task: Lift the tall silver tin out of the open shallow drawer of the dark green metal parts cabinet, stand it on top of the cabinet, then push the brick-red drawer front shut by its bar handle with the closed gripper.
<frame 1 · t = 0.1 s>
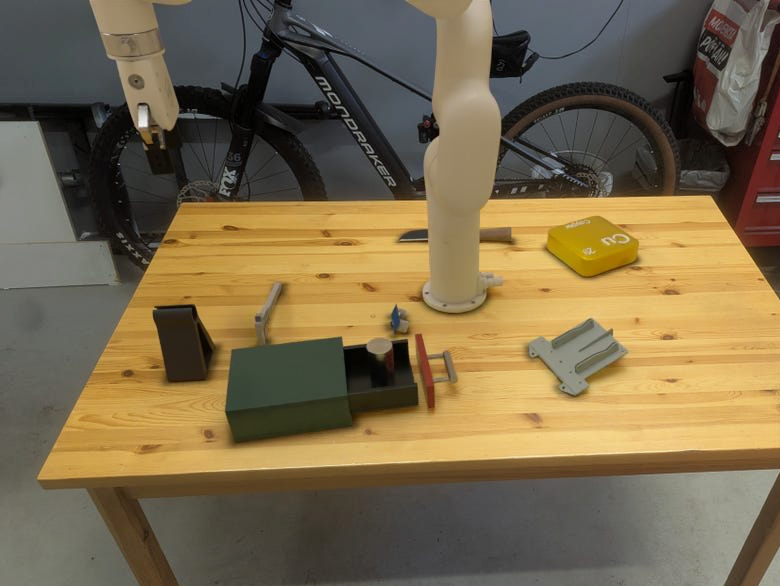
hand: (168, 160, 103), 31 cm above the table, tool pointing down, fingers open, 9 cm apart
cabinet: (294, 402, 107), on the table
tin: (383, 381, 108), point 2 cm above the table, touching drawer
metal bracket: (580, 361, 116), on the table
ultrasonic sensor: (398, 327, 123), on the table
element tile: (590, 254, 144), on the table
grey bent bar: (272, 315, 125), on the table
drawer: (391, 374, 108), point 3 cm above the table, slide at 12.0 cm, touching tin
phone stand: (192, 364, 114), on the table
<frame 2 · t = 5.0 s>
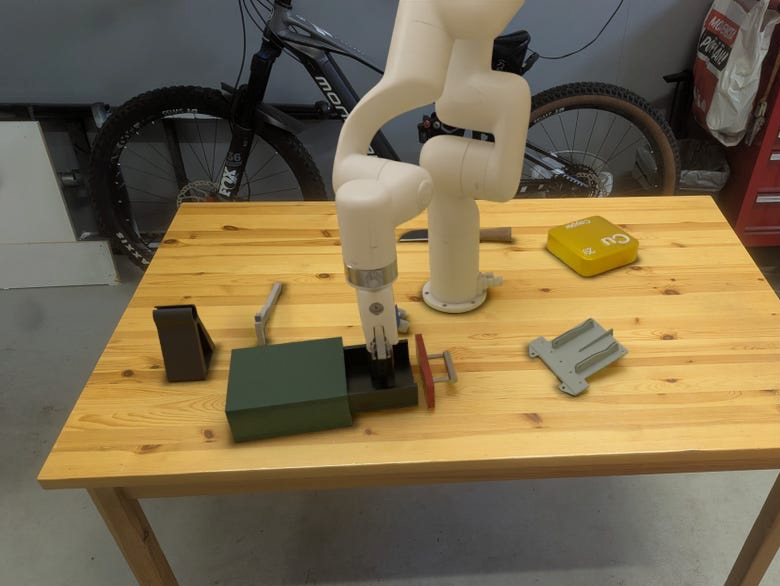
hand: (381, 364, 106), 6 cm above the table, tool pointing down, fingers closed on tin, 4 cm apart
tin: (383, 381, 108), point 2 cm above the table, touching drawer, gripper
everything else where it was.
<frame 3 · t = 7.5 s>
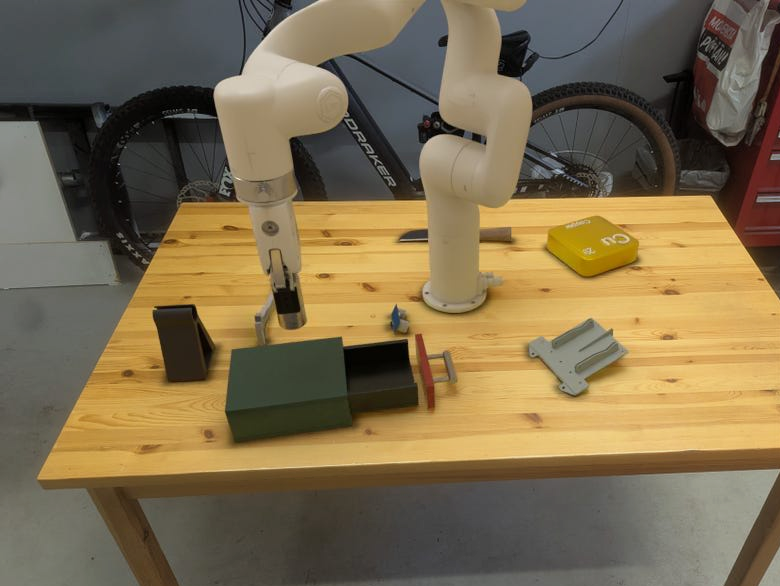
hand: (288, 301, 95), 20 cm above the table, tool pointing down, fingers closed on tin, 4 cm apart
tin: (293, 321, 97), point 16 cm above the table, touching gripper
drawer: (391, 374, 108), point 3 cm above the table, slide at 12.0 cm
everything else where it was.
when the fingers open (10 cm above the table, at t = 10.3 s): tin stays where it is, resting on cabinet.
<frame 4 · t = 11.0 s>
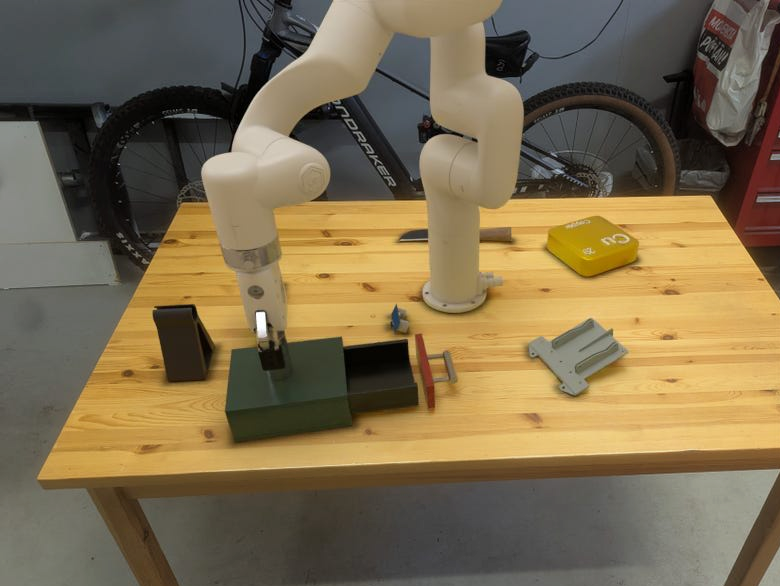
hand: (275, 347, 100), 11 cm above the table, tool pointing down, fingers open, 9 cm apart
tin: (280, 372, 103), point 7 cm above the table, touching cabinet
everything else where it was.
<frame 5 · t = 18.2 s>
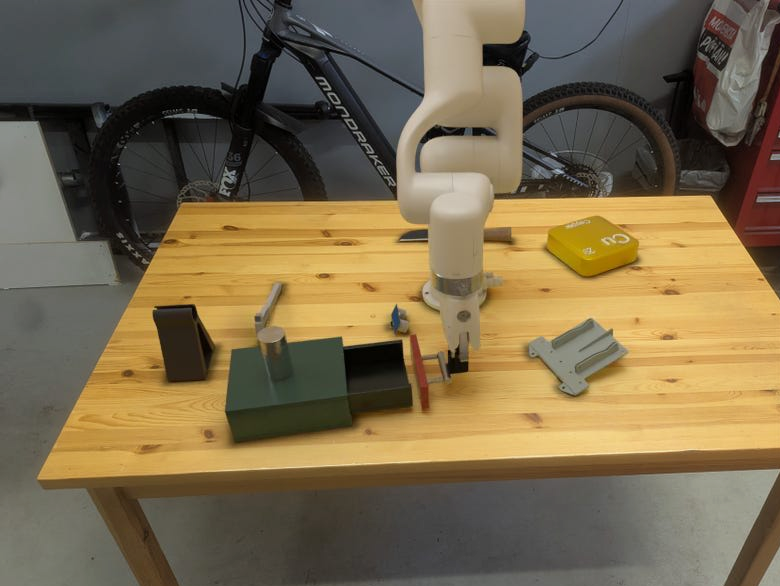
hand: (458, 370, 110), 2 cm above the table, tool pointing down, fingers closed
drawer: (385, 374, 108), point 3 cm above the table, slide at 11.1 cm, touching gripper
everything else where it was.
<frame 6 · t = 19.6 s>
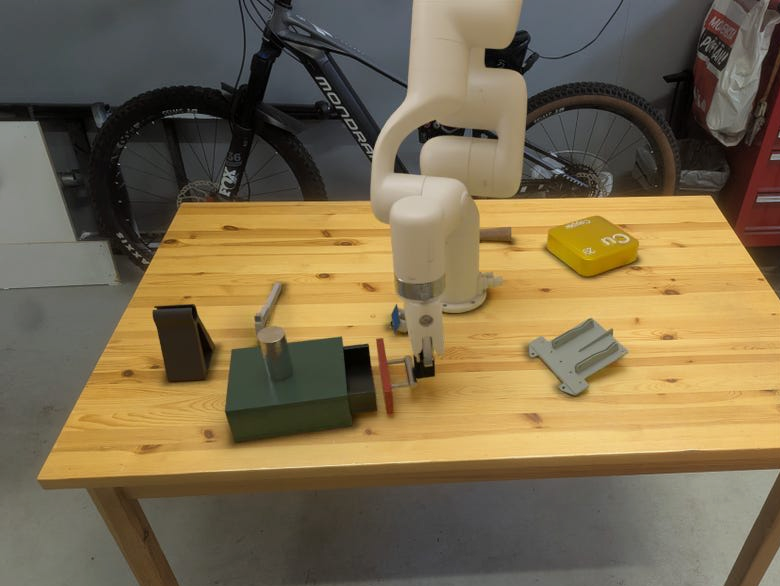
hand: (424, 374, 109), 2 cm above the table, tool pointing down, fingers closed
drawer: (350, 379, 107), point 3 cm above the table, slide at 5.5 cm, touching gripper
everything else where it was.
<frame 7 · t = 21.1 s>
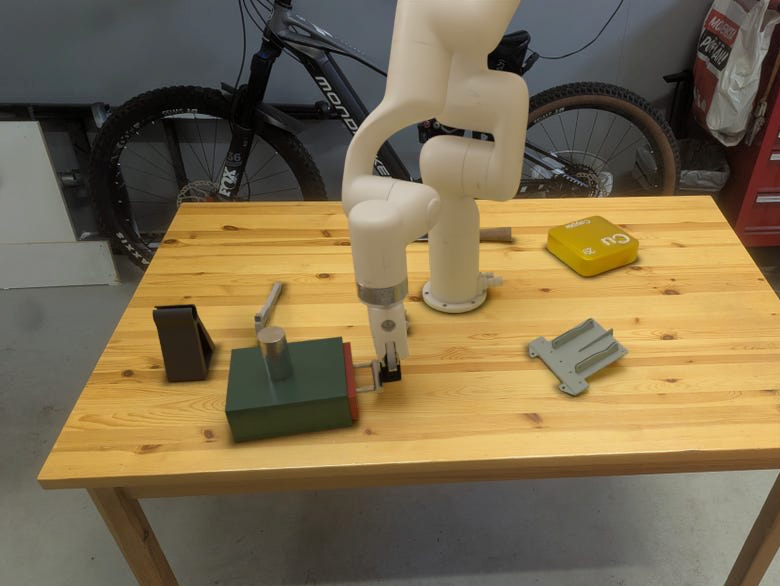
hand: (391, 378, 108), 2 cm above the table, tool pointing down, fingers closed
drawer: (315, 383, 106), point 3 cm above the table, slide at 0.0 cm, touching cabinet, gripper
everything else where it was.
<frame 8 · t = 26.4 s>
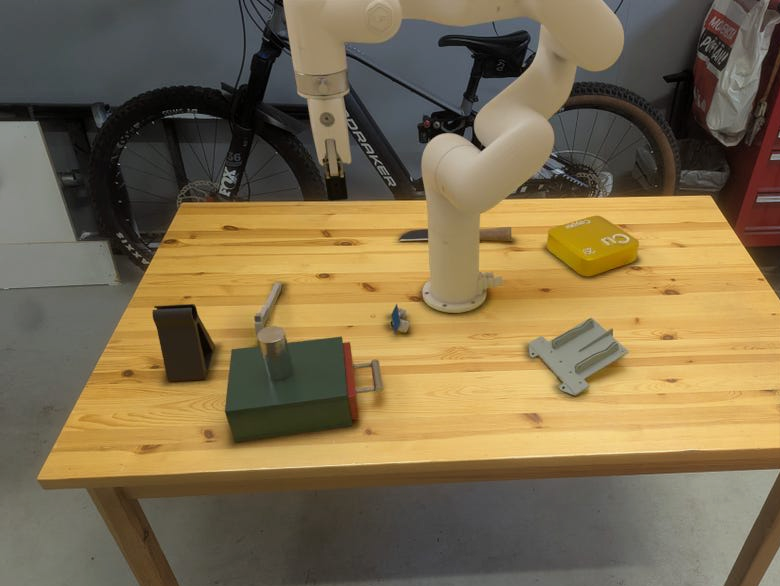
hand: (337, 197, 108), 25 cm above the table, tool pointing down, fingers closed
drawer: (315, 383, 106), point 3 cm above the table, slide at 0.0 cm, touching cabinet
everything else where it was.
at the end: tin inside the target area on the cabinet (0.6 cm from its centre), point 6.6 cm above the cabinet's base; tin tilted 0°; drawer slide at 0.0 cm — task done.
